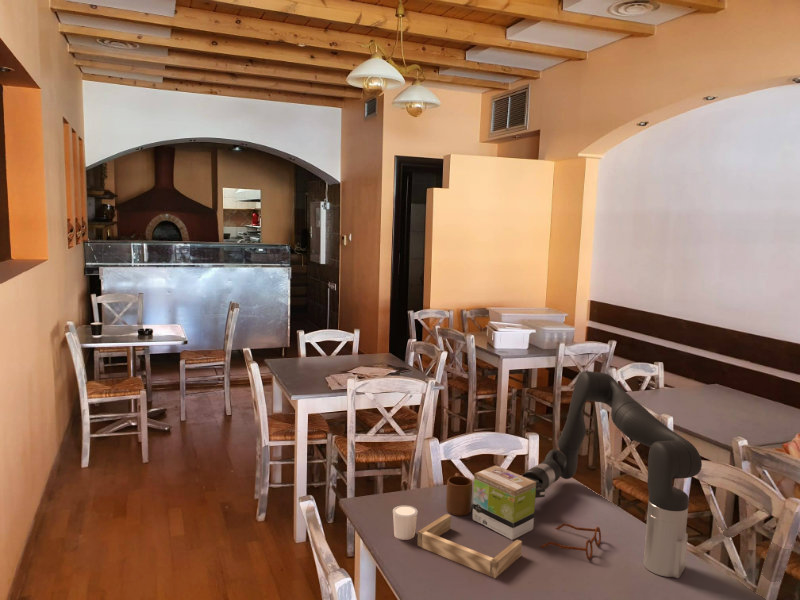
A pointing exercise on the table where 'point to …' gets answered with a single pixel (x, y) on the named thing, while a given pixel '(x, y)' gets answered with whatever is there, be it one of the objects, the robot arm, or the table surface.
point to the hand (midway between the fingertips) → (512, 496)
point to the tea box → (504, 501)
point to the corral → (466, 549)
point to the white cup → (404, 522)
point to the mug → (459, 495)
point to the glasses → (579, 547)
